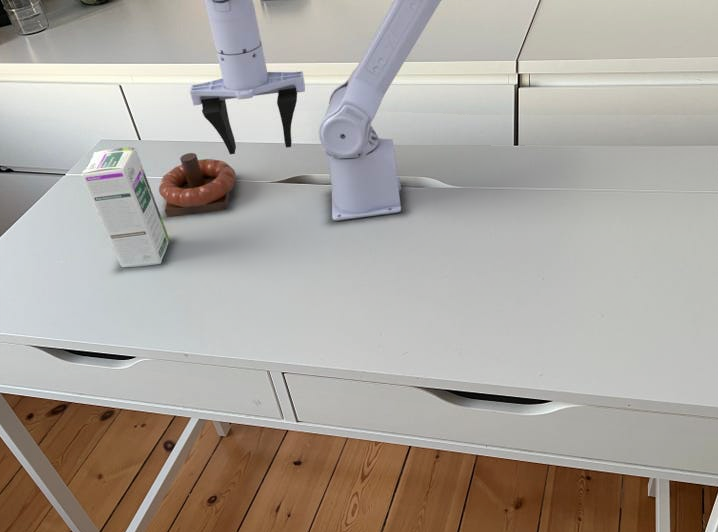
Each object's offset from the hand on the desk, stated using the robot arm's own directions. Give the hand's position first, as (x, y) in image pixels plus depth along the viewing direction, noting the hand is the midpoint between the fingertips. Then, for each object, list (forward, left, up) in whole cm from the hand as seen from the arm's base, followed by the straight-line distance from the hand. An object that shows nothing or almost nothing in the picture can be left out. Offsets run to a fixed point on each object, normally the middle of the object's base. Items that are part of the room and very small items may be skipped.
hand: (260, 147), depth 105 cm
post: (+12, -6, -9) cm, 16 cm away
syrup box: (+18, +8, -10) cm, 22 cm away
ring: (+11, -6, -7) cm, 15 cm away
